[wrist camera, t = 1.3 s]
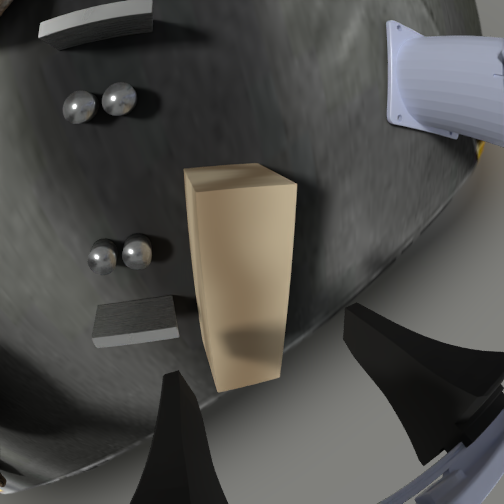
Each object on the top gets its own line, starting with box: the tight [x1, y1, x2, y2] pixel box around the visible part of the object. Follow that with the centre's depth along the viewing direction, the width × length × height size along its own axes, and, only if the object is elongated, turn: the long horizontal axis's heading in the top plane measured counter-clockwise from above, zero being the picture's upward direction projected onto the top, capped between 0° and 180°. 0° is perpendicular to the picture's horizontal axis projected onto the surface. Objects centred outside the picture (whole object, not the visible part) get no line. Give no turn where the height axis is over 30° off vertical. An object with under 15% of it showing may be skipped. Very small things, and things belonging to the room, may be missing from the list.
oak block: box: [184, 163, 297, 392], centre depth 15 cm, size 4×12×5 cm, turn 0°
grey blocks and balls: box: [38, 0, 179, 348], centre depth 11 cm, size 5×17×3 cm, turn 0°
